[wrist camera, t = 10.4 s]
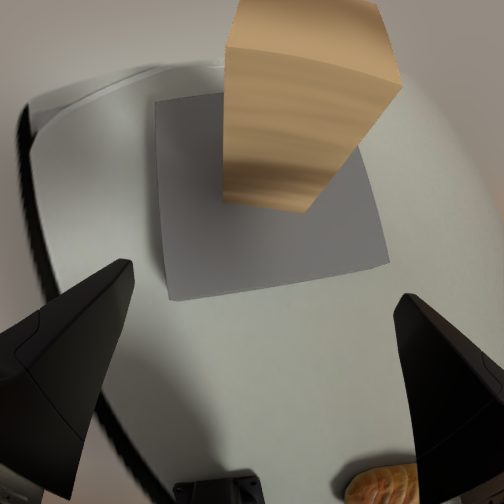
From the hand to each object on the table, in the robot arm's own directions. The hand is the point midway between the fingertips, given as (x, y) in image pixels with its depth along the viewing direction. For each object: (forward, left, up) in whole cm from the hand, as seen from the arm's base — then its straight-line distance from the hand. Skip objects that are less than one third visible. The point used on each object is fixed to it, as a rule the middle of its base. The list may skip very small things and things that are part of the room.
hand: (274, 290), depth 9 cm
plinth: (+8, -2, -11) cm, 14 cm away
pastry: (-20, -9, -12) cm, 25 cm away
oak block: (+8, -2, -8) cm, 12 cm away
